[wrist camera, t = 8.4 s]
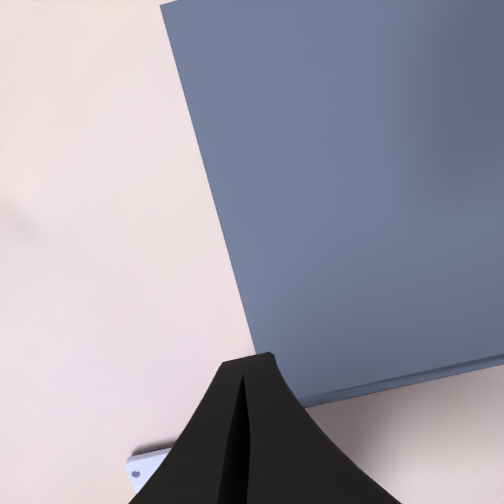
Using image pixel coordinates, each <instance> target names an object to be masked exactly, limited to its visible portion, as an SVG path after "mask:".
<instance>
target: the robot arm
mask: <svg viewBox="0 0 504 504" xmlns="http://www.w3.org/2000/svg"><path fill="white" fill-rule="evenodd" d="M125 470H126V472H127V474H128V476H129V479H130V481H131V483H132V486H133V488H134V490H135V492H136V495H135V497H134V498H133V499H132V500H131V501H130V502H129V503H128V504H402V503H400V502H399V501H398V500H396V499H395V498H394V497H393V496H392V495H390V494H389V493H388V492H387V491H386V490H384V489H383V488H382V487H381V486H380V485H378V484H377V483H376V482H375V481H374V480H373V479H371V478H370V477H369V476H368V475H367V474H365V473H364V472H363V471H362V470H361V469H360V468H358V467H357V466H356V465H355V464H354V463H353V462H352V461H351V460H350V459H349V458H348V457H347V456H346V455H345V454H344V453H343V452H342V451H341V450H340V449H339V448H338V447H337V446H336V445H335V444H334V443H333V442H332V441H331V440H330V439H329V438H328V437H327V436H326V435H325V433H324V432H323V431H322V430H321V429H320V428H319V427H318V425H317V424H316V423H315V422H314V421H313V419H312V418H311V417H310V416H309V414H308V413H307V412H306V411H305V409H304V408H303V407H302V405H301V404H300V403H299V401H298V400H297V398H296V397H295V395H294V394H293V392H292V391H291V390H290V388H289V387H288V385H287V383H286V382H285V380H284V378H283V376H282V374H281V373H280V370H279V368H278V366H277V363H276V359H275V355H274V354H272V353H271V352H265V353H261V354H256V355H252V356H248V357H243V358H239V359H235V360H230V361H226V362H222V364H221V365H220V367H219V369H218V371H217V372H216V374H215V376H214V378H213V380H212V382H211V384H210V386H209V388H208V389H207V391H206V393H205V395H204V397H203V399H202V400H201V402H200V404H199V405H198V407H197V409H196V411H195V412H194V414H193V416H192V417H191V419H190V421H189V422H188V424H187V426H186V427H185V429H184V430H183V432H182V433H181V435H180V436H179V438H178V439H177V441H176V442H175V444H174V445H173V447H172V448H167V449H163V450H158V451H154V452H149V453H145V454H140V455H136V456H131V457H129V458H128V459H127V461H126V464H125ZM136 471H139V472H136Z"/></svg>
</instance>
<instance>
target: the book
mask: <svg viewBox="0 0 504 504" xmlns="http://www.w3.org/2000/svg"><path fill="white" fill-rule="evenodd" d="M160 8H161V12H162V16H163V19H164V23H165V26H166V30H167V34H168V37H169V41H170V44H171V48H172V52H173V55H174V59H175V62H176V66H177V70H178V73H179V77H180V81H181V84H182V88H183V91H184V95H185V99H186V102H187V106H188V109H189V113H190V117H191V120H192V124H193V127H194V131H195V135H196V138H197V142H198V145H199V149H200V153H201V156H202V160H203V164H204V167H205V171H206V174H207V178H208V182H209V185H210V189H211V192H212V196H213V200H214V203H215V207H216V210H217V214H218V218H219V221H220V225H221V229H222V232H223V236H224V239H225V243H226V247H227V250H228V254H229V257H230V261H231V265H232V268H233V272H234V275H235V279H236V283H237V286H238V290H239V294H240V297H241V301H242V304H243V308H244V312H245V315H246V319H247V322H248V326H249V330H250V333H251V337H252V340H253V344H254V348H255V351H256V354H261V353H265V352H271V353H272V354H274V355H275V359H276V363H277V366H278V368H279V370H280V373H281V374H282V376H283V378H284V380H285V382H286V383H287V385H288V387H289V388H290V390H291V391H292V392H293V394H294V395H295V397H296V398H297V400H298V401H299V403H300V404H301V405H302V407H303V408H308V407H312V406H317V405H322V404H326V403H331V402H335V401H340V400H344V399H349V398H353V397H358V396H362V395H367V394H371V393H376V392H380V391H385V390H389V389H394V388H398V387H403V386H407V385H412V384H417V383H421V382H426V381H430V380H435V379H439V378H444V377H448V376H453V375H457V374H462V373H466V372H471V371H475V370H480V369H484V368H489V367H493V366H498V365H502V364H504V0H177V1H173V2H170V3H166V4H162V5H160Z"/></svg>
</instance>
